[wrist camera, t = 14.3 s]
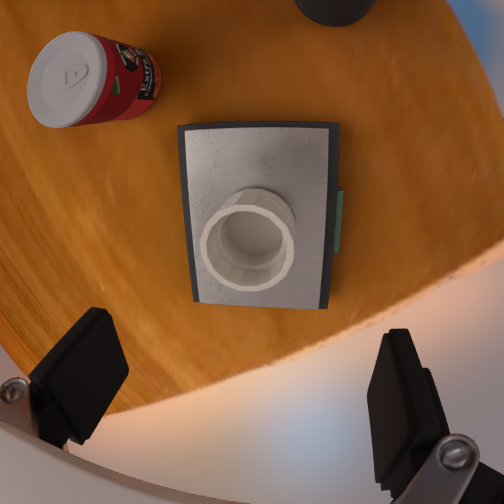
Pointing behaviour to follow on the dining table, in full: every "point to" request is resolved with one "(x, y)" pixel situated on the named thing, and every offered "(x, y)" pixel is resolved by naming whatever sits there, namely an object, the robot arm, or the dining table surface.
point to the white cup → (249, 241)
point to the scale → (332, 204)
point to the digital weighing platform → (270, 179)
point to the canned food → (91, 81)
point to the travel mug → (335, 10)
